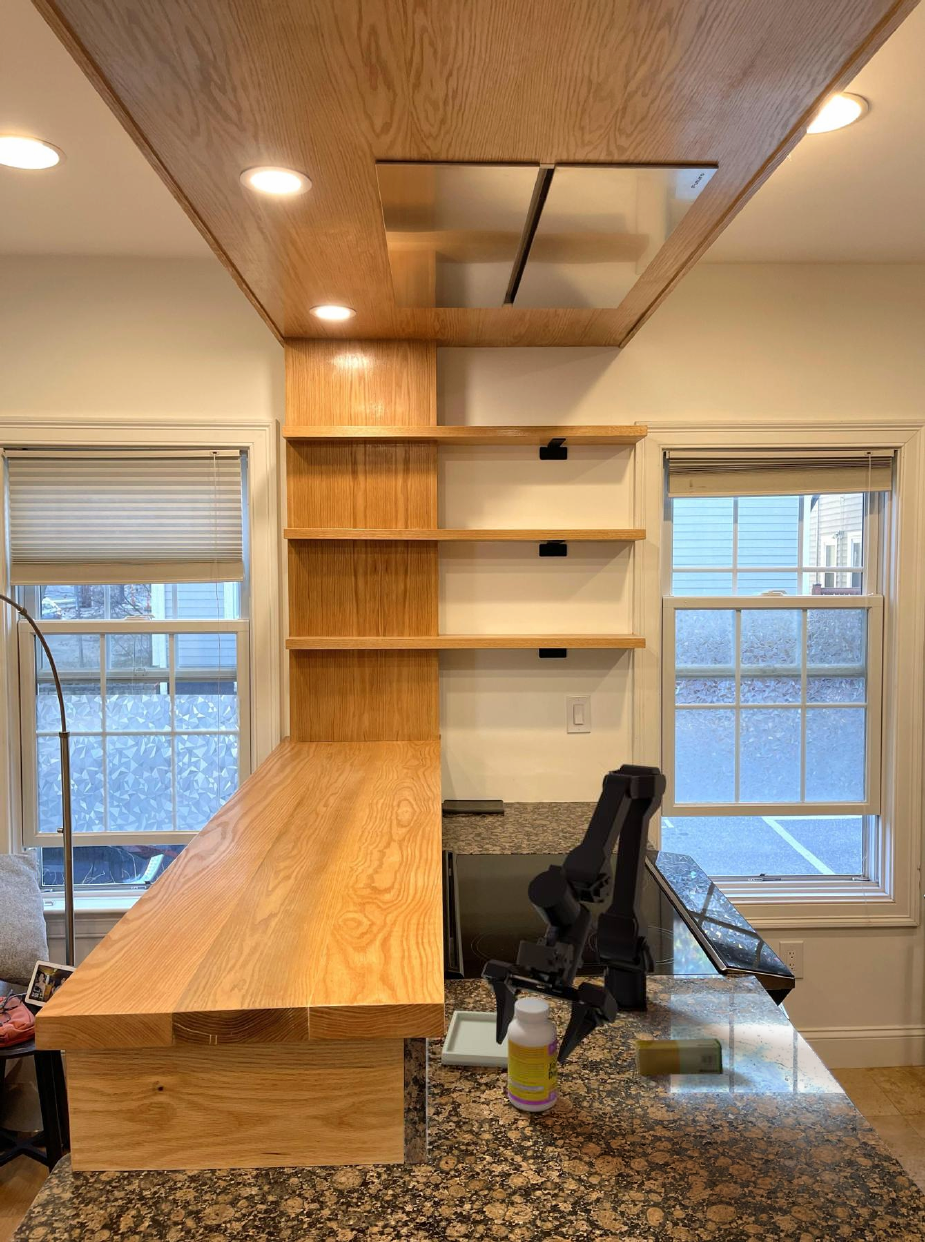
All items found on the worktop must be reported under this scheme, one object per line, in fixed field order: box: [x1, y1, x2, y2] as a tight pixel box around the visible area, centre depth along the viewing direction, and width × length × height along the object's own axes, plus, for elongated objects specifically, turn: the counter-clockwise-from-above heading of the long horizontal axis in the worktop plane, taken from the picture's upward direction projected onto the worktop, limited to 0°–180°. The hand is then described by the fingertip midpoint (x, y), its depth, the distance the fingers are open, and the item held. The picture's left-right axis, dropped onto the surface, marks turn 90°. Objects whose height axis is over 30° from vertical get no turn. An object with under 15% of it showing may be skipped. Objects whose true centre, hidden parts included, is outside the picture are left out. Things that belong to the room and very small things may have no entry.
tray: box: [440, 1010, 516, 1069], centre depth 131 cm, size 13×13×2 cm
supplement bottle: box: [507, 996, 559, 1113], centre depth 116 cm, size 7×7×13 cm
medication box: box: [634, 1038, 724, 1076], centre depth 123 cm, size 12×3×4 cm, turn 90°
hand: (528, 1052), depth 115 cm, fingers open, 9 cm apart
